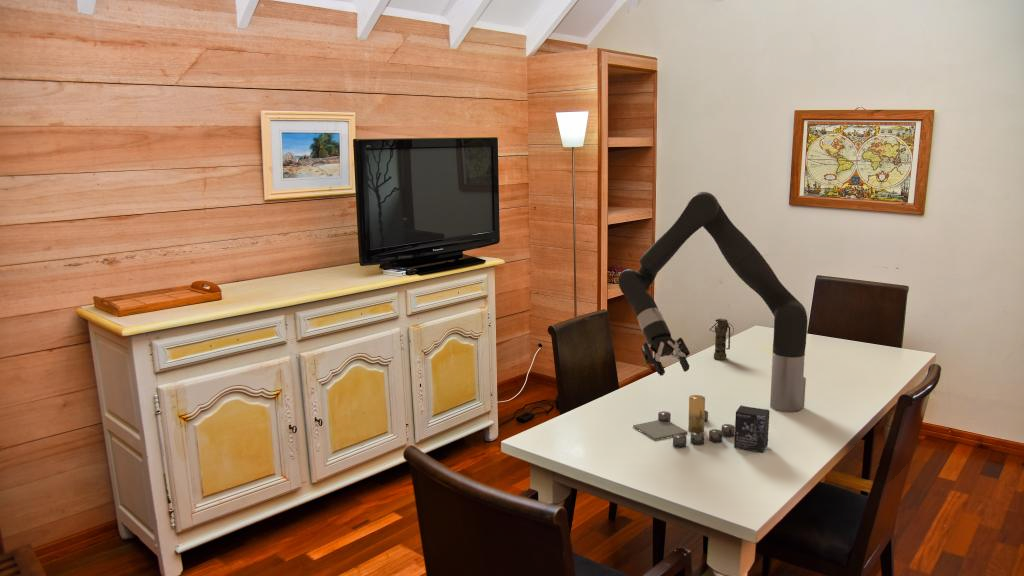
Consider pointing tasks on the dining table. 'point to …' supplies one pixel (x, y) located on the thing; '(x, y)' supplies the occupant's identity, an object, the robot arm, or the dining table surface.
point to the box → (751, 428)
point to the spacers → (698, 437)
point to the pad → (660, 429)
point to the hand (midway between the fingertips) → (675, 372)
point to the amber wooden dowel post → (696, 413)
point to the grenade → (721, 339)
